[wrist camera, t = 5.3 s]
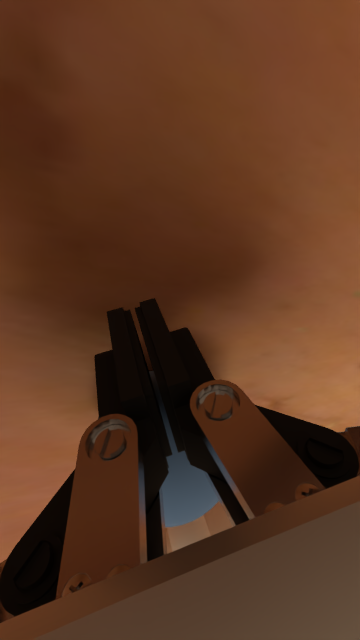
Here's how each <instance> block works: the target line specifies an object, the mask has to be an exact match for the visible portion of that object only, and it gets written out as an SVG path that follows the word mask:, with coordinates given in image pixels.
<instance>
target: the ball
mask: <svg viewBox="0 0 360 640" xmlns="http://www.w3.org/2000/svg"><path fill="white" fill-rule="evenodd" d="M149 373H150V377H151V380H152V384H153V387H154V391H155V394H156V398H157V401H158V405H159V408H160V412H161V415H162V419H163V422H164V426H165V429H166V433H167V436H168V440H169V443H170V447H171V451H172V454H173V455H171V456H168V457H166V458H167V462H168V466H169V468H168V471H169V473H168V475H167V477H166V479H165V481H164V482H163V484H162V486H161V488H162V492H163V505H164V517H165V527H175V526H180V525H184V524H186V523H189V522H192V521H194V520H196V519H198V518H199V517H201V516H203V515H204V514H205V513H207V512H208V511H209V510H211V509H212V508H213V507H214V506H215V505H216V504H217V503H218V501H219V500H218V498H217V496H216V494H215V493H214V491H213V489H212V487H211V485H210V483H209V481H208V479H207V478H206V476H205V473H204V471H203V470H201V469H198V468H196V467H194V466H192V465H190V463H189V461H188V459H187V456H186V453H185V450H184V451H182V452H179V453H178V451H177V447H176V444H175V441H174V437H173V434H172V431H171V427H170V424H169V421H168V418H167V414H166V411H165V408H164V404H163V401H162V398H161V394H160V391H159V388H158V384H157V381H156V378H155V374H154V371H149ZM98 419H99V417H98Z"/></svg>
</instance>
